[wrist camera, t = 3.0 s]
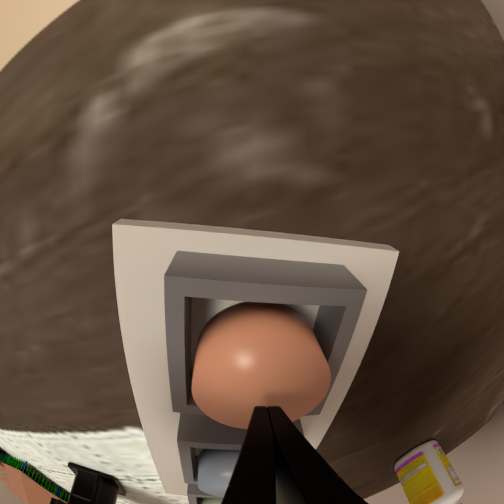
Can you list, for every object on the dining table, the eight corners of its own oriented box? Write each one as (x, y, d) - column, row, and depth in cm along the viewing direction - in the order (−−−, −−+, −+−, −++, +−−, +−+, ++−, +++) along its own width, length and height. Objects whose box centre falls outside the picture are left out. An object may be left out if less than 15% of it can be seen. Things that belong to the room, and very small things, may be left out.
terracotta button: (300, 389, 12) (311, 426, 10) (196, 387, 12) (193, 426, 9) (326, 303, 11) (348, 338, 8) (198, 295, 10) (190, 333, 8)
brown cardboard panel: (14, 447, 21) (-1, 482, 13) (129, 522, 32) (126, 549, 24) (-29, 430, 21) (-42, 453, 14) (65, 506, 32) (60, 527, 25)
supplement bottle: (385, 471, 24) (413, 540, 12) (404, 449, 22) (441, 527, 10) (423, 456, 25) (454, 517, 13) (444, 431, 22) (483, 498, 10)
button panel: (283, 489, 22) (287, 513, 19) (166, 486, 21) (164, 510, 17) (389, 245, 13) (429, 271, 10) (120, 218, 11) (85, 241, 8)
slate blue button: (268, 471, 15) (271, 497, 13) (199, 470, 15) (198, 496, 13) (281, 440, 14) (287, 471, 12) (198, 439, 13) (196, 471, 11)
